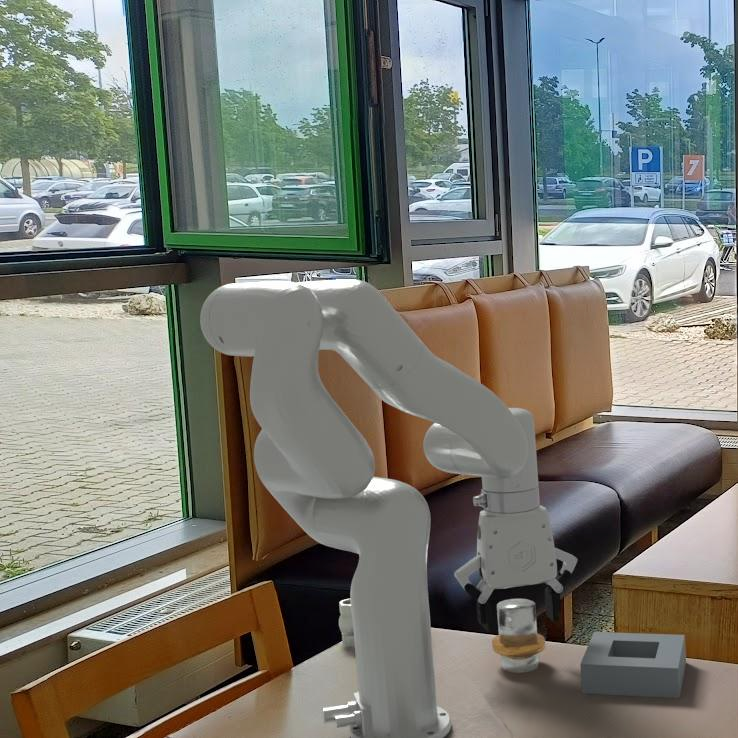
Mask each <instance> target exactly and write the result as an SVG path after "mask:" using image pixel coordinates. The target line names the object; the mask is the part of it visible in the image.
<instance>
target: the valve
mask: <svg viewBox="0 0 738 738" xmlns="http://www.w3.org/2000/svg"><path fill="white" fill-rule="evenodd" d="M338 603H339V604H338V606H339V607H338V608H339V613H340V615H339V618H338V627H339V630H340V632H341V641H342V644H343V646H344V647H346V648H355V644H354V632H353V621H352V612H351V600H350V598H346V599H342V600H340V601H339V602H338Z"/></svg>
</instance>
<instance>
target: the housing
mask: <svg viewBox="0 0 738 738" xmlns="http://www.w3.org/2000/svg"><path fill="white" fill-rule="evenodd" d="M685 636H686V635H685V634H673V633H672V634H668V633H667V634H666V633H665V634H664V633H641V632H640V633H636V632H635V633H633V632H612V631H611V632H609V631H608V632H607V631H603V632H602V631H594V632H593V633H592V636H591V638H590V640H589V643H588V646H587V648H586V649H585V651H584V655H583V657H582V660H581V662H580V678H581V693H582V694H586V695H587V694H588V695H589V694H590V695H609V696H625V697H626V696H629V697H631V696H632V697H646V698H648V697H650V698H668V699H680V698H681V692H682V688H683V682H684V677H685V672H686V665H687V653H686V637H685Z"/></svg>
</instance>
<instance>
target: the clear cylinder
mask: <svg viewBox="0 0 738 738" xmlns="http://www.w3.org/2000/svg"><path fill="white" fill-rule="evenodd" d="M496 611H497V612H496V615H497V625H498V626H497V627H498V635H496V636H494V637H493V638H492V640H491V646H492V650H493V652H494V653H496V654H498V655H500V658H501V659H500V661H501V668H502V669H503V670H504V671H506V672H510V673H521V674H522V673H528V672H532V671H535V670H536V669H538V668H539V665H540V664H539V653H541V652H543V651H544V650H546V637H544V636H543V635H542V634H541V633H538V627H537V625H538V624H537V612H536V602H535V601H533V600H530V599H527V598H510V599H504V600H501V601H499V602H498V603H497V604H496Z"/></svg>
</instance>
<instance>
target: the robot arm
mask: <svg viewBox="0 0 738 738" xmlns="http://www.w3.org/2000/svg"><path fill="white" fill-rule="evenodd" d="M199 317H200V318H199V319H200V320H199V323H200V329H201V332H202V335H203V337H204V338H205V340H206V342H207V343H208V344H209V345H210V346H211V347H212V348H213V349H215V351H217V352H219V353H220V354H224V355H227V356H234V357H253V358H252V359H253V360H252V366H251V367H252V368H251V375H250V385H249V400H250V401H249V403H250V404H249V405H250V407H251V411H252V412H251V413H252V414H253V417H254V419H255V420H256V422H257V423H258V425H259V427H260V428H261V430H260V432H259V433H258V435H257V437H256V440H255V443H254V447H253V448H254V449H253V460H254V466H255V470H256V472H257V476H258V478H259V479H260V481H261V483H262V484H263V486H264V487H265V489H266V490H267V491H268V492H269V493H270V495H272V496H273V498H274V499H275V500H276V501H277V503H278V504H279V505H280V506H281V507H282V508H283V509H284V510H285V512H286V513H287V514H288V515H289V516H290V517H291V518H292V519H293V520H294V521H295V523H296V524H297V526H298V525H299V528H301V529H302V530H303V531H304V532H305V533H306V534H307V535H308V536H309V537H310V538H312V539H313V540H314V541H315V542H317V543H318V544H321V545H324V546H326V547H329V548H333V549H338V550H342V551H346V552H351V553H354V554H358V556H359V558H358V563H357V567H356V569H355V572H354V574H353V577H352V580H351V584H350V593H349V594H350V596H349V597H350V598H349V599H350V600H351V612H352V621H353V632H354V644H355V647H354V652H355V653H354V654H355V665H356V677H357V687H358V689H357V690H358V691H357V692H353V700H347V701H346V704H342V705H331V706H324V707H323V706H322V707H321V713H322V720H323V724H329V723H335V726H336V729H337V728H344V727H348V728H349V729H348V730H349V736H350V738H445V737H446V736H447V735H448V734H449V732H450V731H451V728H452V722H451V719H452V718H451V715H450V714H449V712H448V711H447V710H445V709H444V708H442V707H441V706H438V702H437V689H436V677H435V676H436V675H435V664H434V663H435V662H434V651H433V649H434V648H433V641H432V639H433V638H432V627H431V615H430V614H431V613H430V604H429V603H430V601H429V591H428V569H427V567H428V566H427V565H428V550H429V549H428V548H429V542H430V533H431V512H430V508H429V505H428V502H427V501H426V499H425V497H424V496H423V494H422V493H421V492H420V491H419V490H418V489H417V488H415V487H414V486H412V485H410V484H408V483H406V482H402V481H401V480H397V479H392V478H387V477H378V476H375V472H376V471H375V470H376V461H375V457H374V453H373V450H372V448H371V446H370V445H369V442H368V441H367V440H366V438H365V437H364V436H363V434H362V433H361V432H360V430H358V428H357V427H356V426H355V424H353V422H352V421H351V419H349V417H348V416H347V415H346V413H345V412H344V410H343V409H342V408H341V407H340V406H339V405H338V403H337V402H336V400H334V398H333V397H332V396H331V394H330V393H329V391H328V390H327V388H326V387H325V385H324V383H323V382H322V380H321V377H320V372H319V353H320V350H321V351H322V350H324V351H326V350H327V351H328V350H329V351H333V352H336V353H337V354H339V355H340V356H341V357H342V359H343V360H344V361H345V362H346V363H347V364H348V365H349V366H350V367H351V368H352V369H353V370H354V372H355V373H356V374H357V375H358V376H359V377H360V378H361V379H362V380H363V381H364V382H365V383H366V385H367V386H368V387H369V388H370V389H371V390H372V391H373V392H374V393H375V395H376V396H378V397H377V398H379V399H380V400H382V401H383V403H386V404H387V405H389V406H391V407H393V408H395V409H397V410H399V411H401V412H404V413H406V414H408V415H411V416H415V417H417V418H421V419H424V420H427V421H430V422H433V424H432V425H430V426H429V428H428V429H427V431H426V433H425V435H424V437H423V443H422V444H423V445H422V446H423V452H424V455H425V457H426V460H427V461H428V462H429V464H431V466H432V467H434V468H436V469H437V470H439V471H443V472H444V473H450V474H457V475H462V476H463V475H464V476H475V477H481V482H482V483H481V484H482V485H481V486H482V488H481V489H480V494H478V495H474V496H473V497H472V503H473V506H474V507H478V506H479V507H482V508H483V510H481V511H480V512H479V517H478V524H477V525H478V527H477V539H476V540H477V541H476V555H475V556H474V557H473V558H471V559H469V560H468V561H467V562H466V563H464V564H463V565H462V566H460V567H459V568H458V569H456V570H455V571H454V574H453V575H454V577H455V578H456V580H457V581H458V582H459V585H460V586H461V587H462V589H463V590H464V591H465V593H467V594H468V595H470V596H471V597H472V598H474V599H475V600H476V601H475V602H476V611H477V622H478V624H479V625H481V626H482V628H484V630H485V631H486V632H488V633H489V632H493V631H494V624H493V621H494V620H493V612H492V611H493V610H492V604H491V602H490V601H489V599H490V596H491V595H492V594H493V591H494V590H502V589H510V588H516V587H517V588H518V587H524V586H525V587H526V586H532V585H539V584H544V583H545V584H546V585H547V587H545V589H544V598H545V601H544V602H545V614H546V616H547V618H548V619H550V620H551V621H552V622H554V623H559V622H560V617H559V614H561V613H562V603H561V602H562V601H561V593H562V592H563V591H564V586H565V585H566V584H567V583H568V582H569V580H570V579H571V578H572V573H573V572H574V569H575V567H576V565H577V563H578V558H577V557H576V556H574V555H573V554H571V553H569V552H566V551H564V550H562V549H559V548H558V547H555V541H554V536H553V531H552V525H551V521H550V516H549V511H548V509H547V508H546V507H545V506H543V505H540V504H541V503H540V501H541V500H540V488H539V476H538V475H539V473H538V471H539V470H538V459H537V457H538V456H537V442H536V428H535V427H536V426H535V419H534V416H533V414H532V412H531V411H530V410H527V409H526V408H525V409H524V408H521V407H508V406H507V405H506V404H505V402H504V401H503V400H502V399H501V398H500V397H499V396H498V395H496V393H494V392H493V391H492V390H491V389H490V388H488V387H487V386H485V385H484V384H482V383H481V382H479V381H478V380H476V379H475V378H473V377H472V376H470V375H468V374H467V373H465V372H464V371H462V370H460V369H459V368H457V367H455V366H454V365H452V364H451V363H449V362H447V361H445V360H444V359H442V358H440V357H438V356H437V355H435V354H434V353H433V352H432V351H431V350H430V349H429V348H428V347H427V345H425V343H424V342H423V341H422V339H420V337H419V336H418V335H417V334H416V333H415V331H414V330H413V329H412V328H411V327H410V325H409V324H408V323H407V322H406V321H405V319H404V318H403V317H402V316H401V315H400V314H399V313H398V311H397V310H396V309H395V308H394V307H393V305H392V304H391V303H390V302H389V301H388V300H387V299H386V297H385V296H384V295H383V294H382V293H381V291H379V289H377V288H376V287H375V286H374V285H372V284H370V283H369V282H367V281H364V280H360V279H355V278H349V279H348V278H344V279H342V278H341V279H327V280H310V281H298V282H295V281H290V280H289V281H288V280H266V281H253V282H238V283H237V282H235V283H227V284H225V285H222V286H219V287H217V288H216V289H214V290H213V291H212V292H211V293H210V294H209V295H208V296H207V298H206V299H205V300H204V302H203V305H202V306H201V311H200V316H199ZM557 560H559V561H561V562H562V567H561V568H560V569H559V570H558V563H557ZM476 571H477V575H478V577H479V579H480V581H479V583H478V584H477V585H476V586H475V585H474V584H472V582H471V580H470V579H469V577H470V575H472V574H473V573H475V572H476Z"/></svg>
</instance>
